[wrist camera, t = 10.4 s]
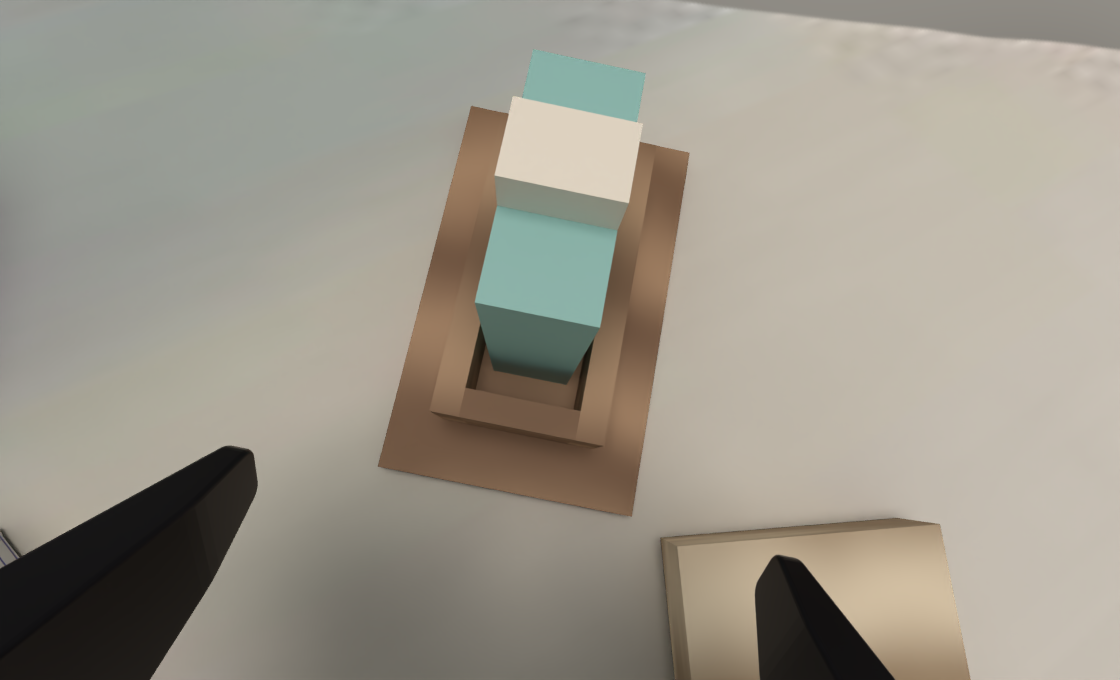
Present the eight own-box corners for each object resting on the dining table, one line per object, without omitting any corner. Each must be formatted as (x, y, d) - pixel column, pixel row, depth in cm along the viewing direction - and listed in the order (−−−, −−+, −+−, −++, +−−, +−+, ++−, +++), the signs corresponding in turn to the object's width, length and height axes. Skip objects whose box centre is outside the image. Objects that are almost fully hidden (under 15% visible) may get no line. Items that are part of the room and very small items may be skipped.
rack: (627, 514, 23) (651, 526, 19) (382, 466, 23) (351, 466, 19) (684, 162, 27) (715, 105, 22) (472, 116, 26) (463, 50, 22)
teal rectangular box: (566, 384, 23) (609, 310, 12) (493, 370, 23) (469, 282, 12) (596, 227, 25) (659, 31, 14) (527, 212, 25) (534, 4, 14)
